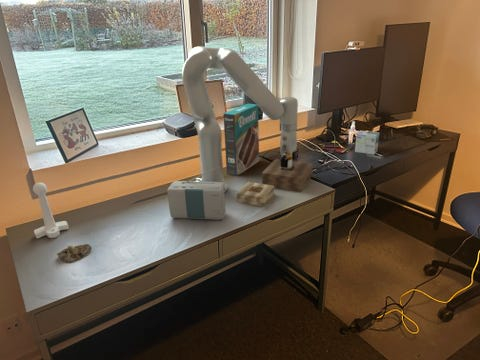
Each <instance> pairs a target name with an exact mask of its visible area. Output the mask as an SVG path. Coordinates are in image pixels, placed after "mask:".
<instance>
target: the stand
mask: <svg viewBox="0 0 480 360" xmlns="http://www.w3.org/2000/svg"><path fill="white" fill-rule="evenodd" d="M273 196H275V188H274V186H272V185H266V184H262V183H258V182H252V181H247V183H246V184H245V185H244V186H243V187H242V188H240V190H239V191H237V193H236V201H237V203H241V204H247V205H254V206H258V207H265V206H266V205H268V202H269V201H271V199H272V198H273Z"/></svg>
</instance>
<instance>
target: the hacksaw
mask: <svg viewBox="0 0 480 360" xmlns="http://www.w3.org/2000/svg"><path fill="white" fill-rule="evenodd" d="M339 160H340V159H339V158H338V157H336V160H334V157H331V161H329V162H328V163H323V164H320V165H316V166H313V165H312V174H318V173H321V172H325V171H326V170H330V169H333V168H336V167H337V168H338V167H341V166H345V165H347V164H346V163H343V162H340V161H339ZM333 163H338V164H339V165H334V166H331V167H327V168H323V167H325V166H328V165H331V164H333ZM321 167H322V168H321ZM313 169H314V170H313Z"/></svg>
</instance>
